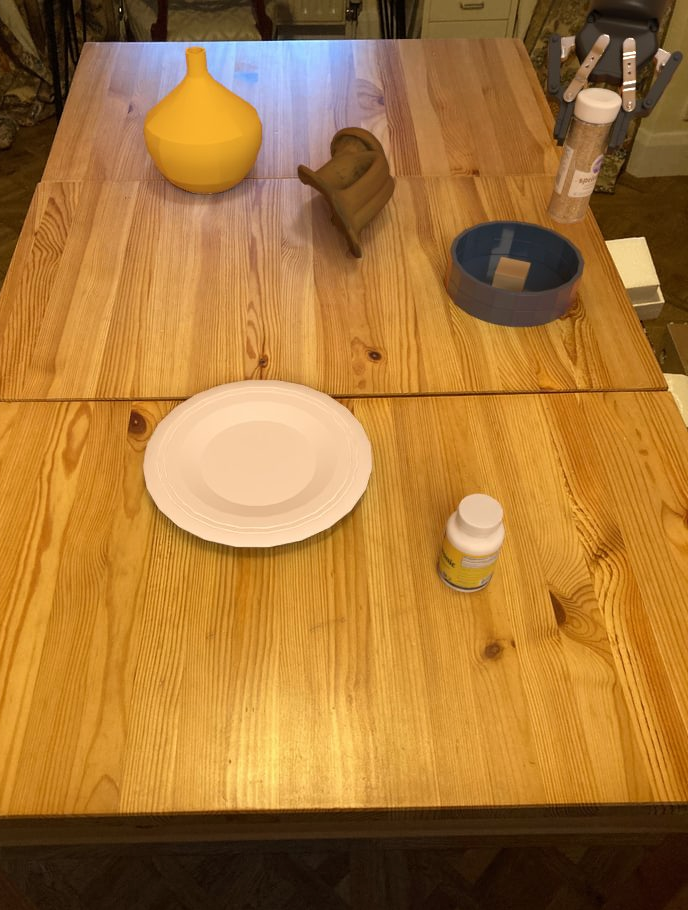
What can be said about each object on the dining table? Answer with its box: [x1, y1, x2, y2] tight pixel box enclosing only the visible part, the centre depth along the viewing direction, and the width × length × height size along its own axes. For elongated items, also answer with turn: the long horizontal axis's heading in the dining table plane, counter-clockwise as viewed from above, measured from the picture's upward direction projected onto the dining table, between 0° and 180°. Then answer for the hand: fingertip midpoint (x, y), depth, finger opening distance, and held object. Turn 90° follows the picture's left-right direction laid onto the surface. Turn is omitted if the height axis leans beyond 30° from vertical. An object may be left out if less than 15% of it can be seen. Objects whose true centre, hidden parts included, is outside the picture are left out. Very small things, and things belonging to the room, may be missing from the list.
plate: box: [142, 379, 373, 549], centre depth 84 cm, size 25×25×2 cm
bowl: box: [444, 219, 585, 328], centre depth 104 cm, size 17×17×6 cm
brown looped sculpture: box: [296, 126, 396, 259], centre depth 112 cm, size 18×13×22 cm
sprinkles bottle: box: [546, 87, 622, 225], centre depth 85 cm, size 5×5×14 cm
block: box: [492, 257, 531, 292], centre depth 103 cm, size 4×4×4 cm
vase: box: [142, 46, 263, 195], centre depth 117 cm, size 18×18×19 cm
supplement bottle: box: [437, 493, 506, 593], centre depth 73 cm, size 5×5×10 cm
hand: (585, 147), depth 81 cm, fingers closed on sprinkles bottle, 4 cm apart
